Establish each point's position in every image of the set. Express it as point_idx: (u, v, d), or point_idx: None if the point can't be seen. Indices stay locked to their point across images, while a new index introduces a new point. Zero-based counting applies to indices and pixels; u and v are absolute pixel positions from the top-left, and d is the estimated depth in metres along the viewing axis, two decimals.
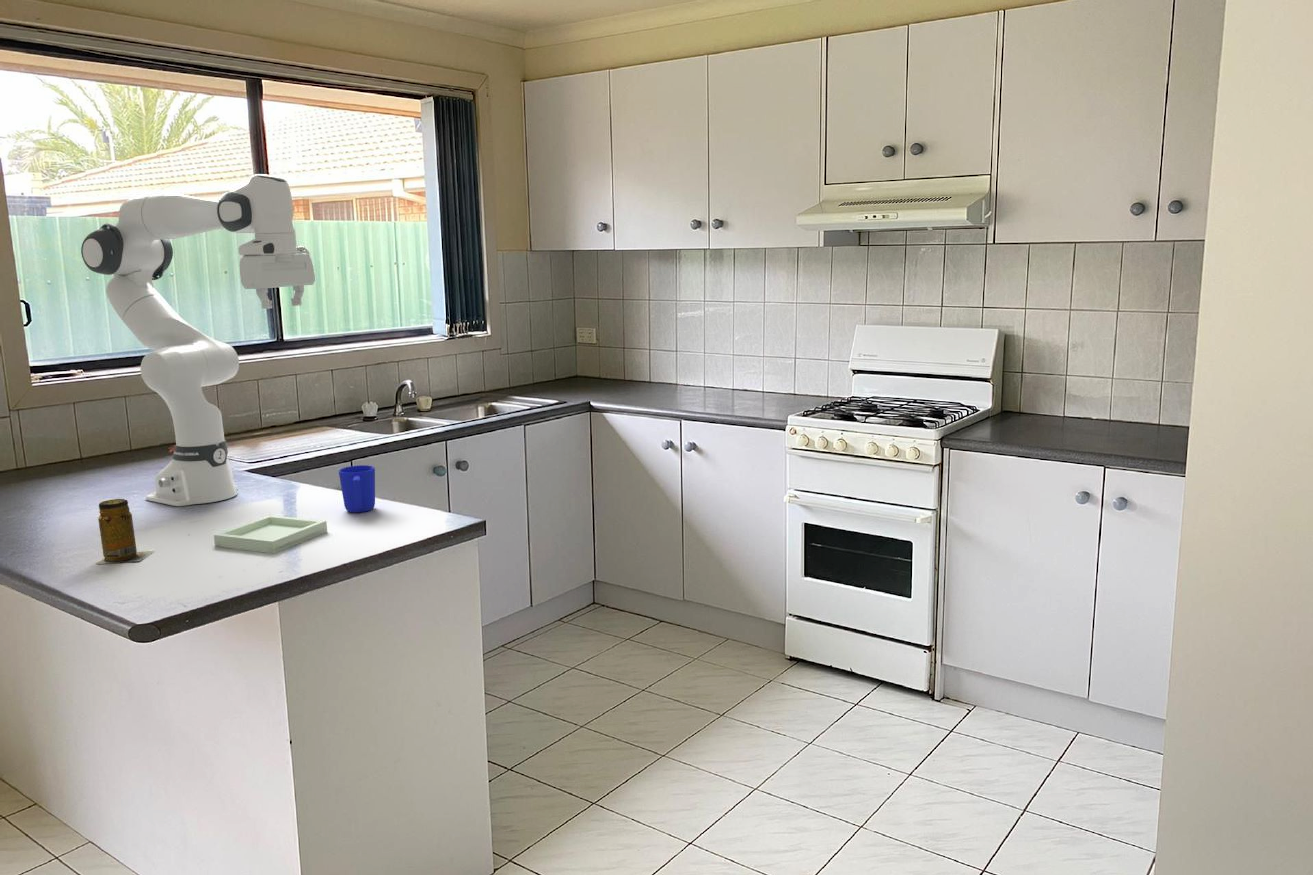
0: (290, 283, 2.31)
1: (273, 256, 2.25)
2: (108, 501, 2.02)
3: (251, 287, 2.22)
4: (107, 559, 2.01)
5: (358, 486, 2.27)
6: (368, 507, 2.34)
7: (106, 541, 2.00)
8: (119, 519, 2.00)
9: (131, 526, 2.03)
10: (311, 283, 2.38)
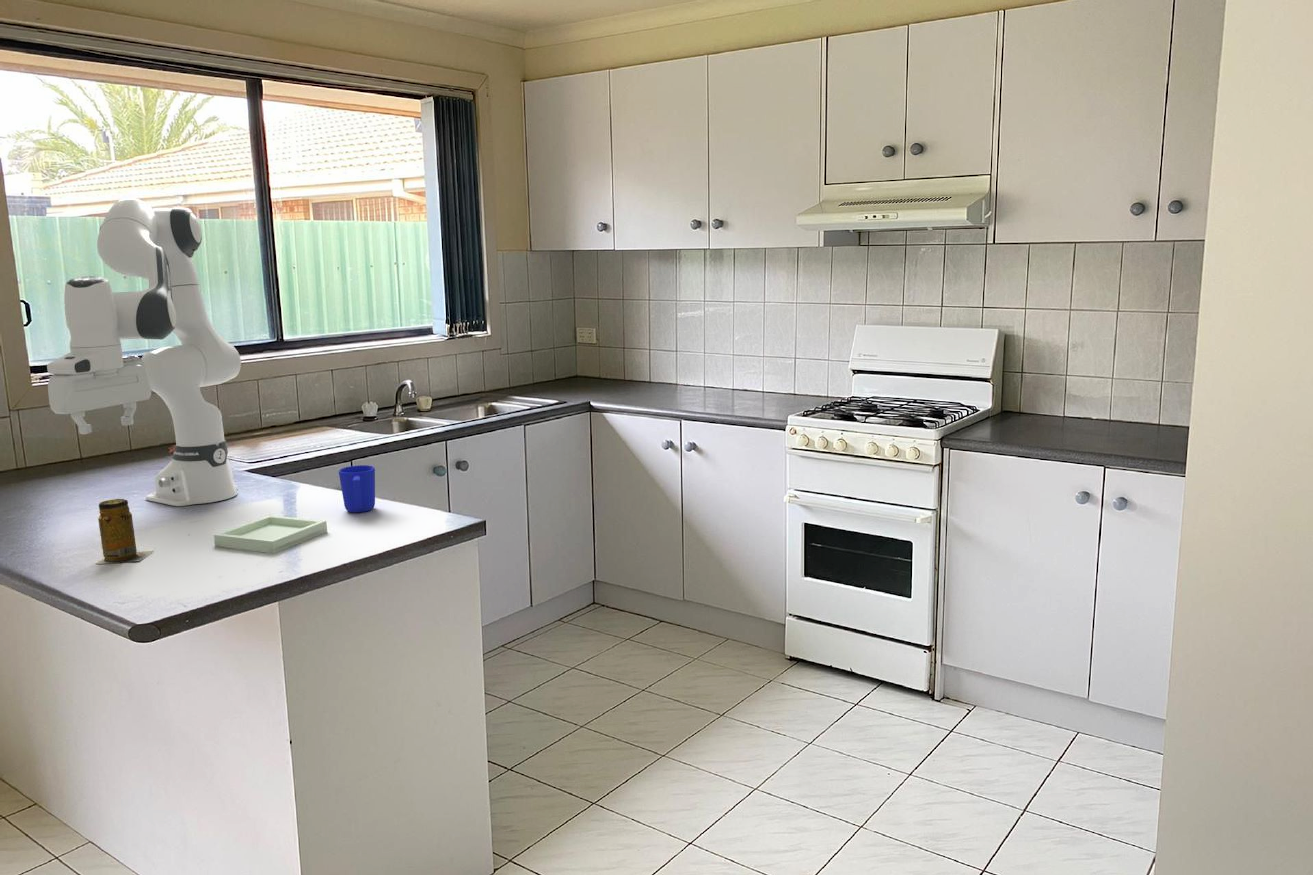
0: (116, 401, 1.98)
1: (90, 374, 1.92)
2: (108, 501, 2.02)
3: (61, 412, 1.89)
4: (107, 559, 2.01)
5: (358, 486, 2.27)
6: (368, 507, 2.34)
7: (106, 541, 2.00)
8: (119, 519, 2.00)
9: (131, 526, 2.03)
10: (146, 398, 2.05)
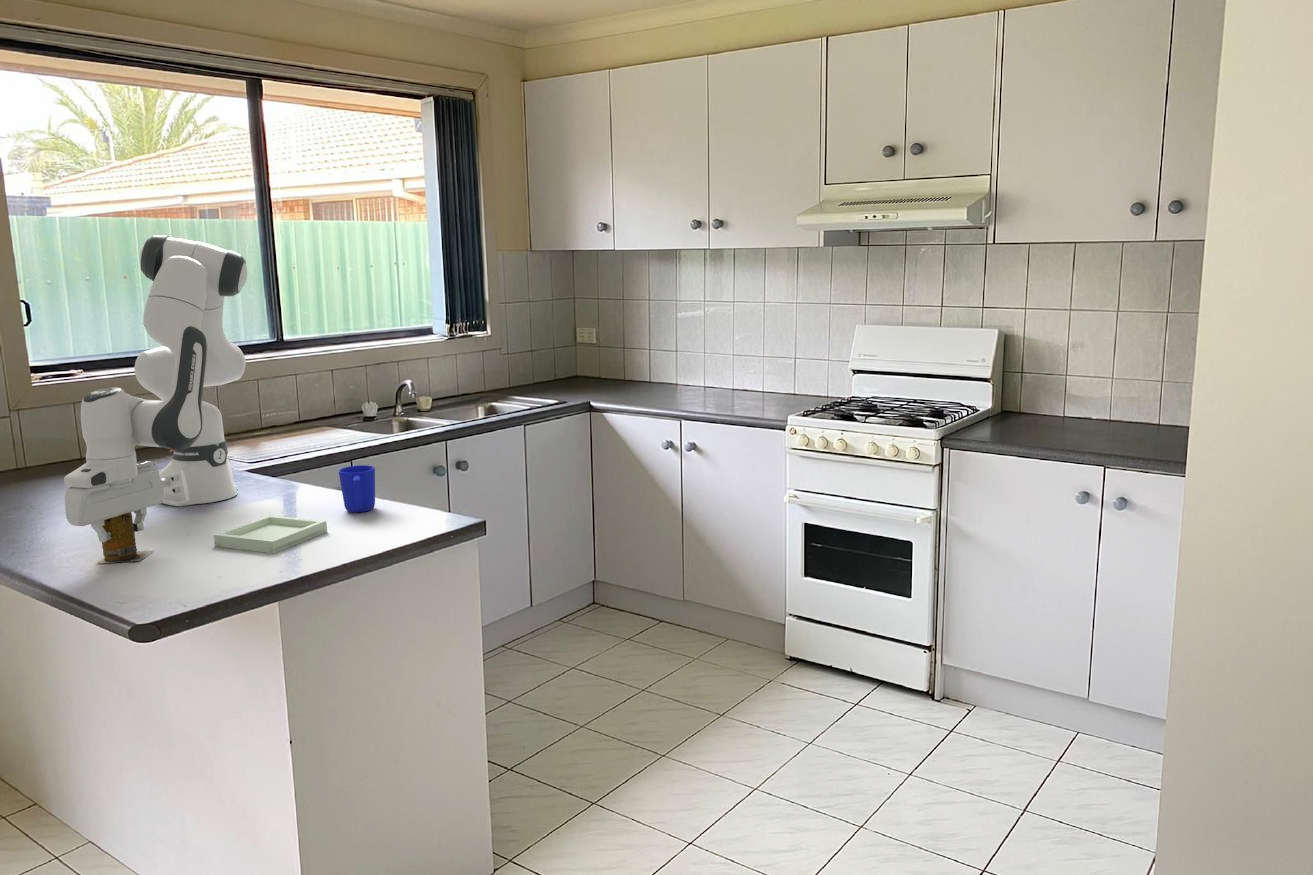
0: (130, 509, 2.02)
1: (105, 485, 1.96)
2: None
3: (78, 525, 1.93)
4: (107, 559, 2.01)
5: (358, 486, 2.27)
6: (368, 507, 2.34)
7: None
8: (119, 518, 2.00)
9: (132, 526, 2.03)
10: (159, 502, 2.09)
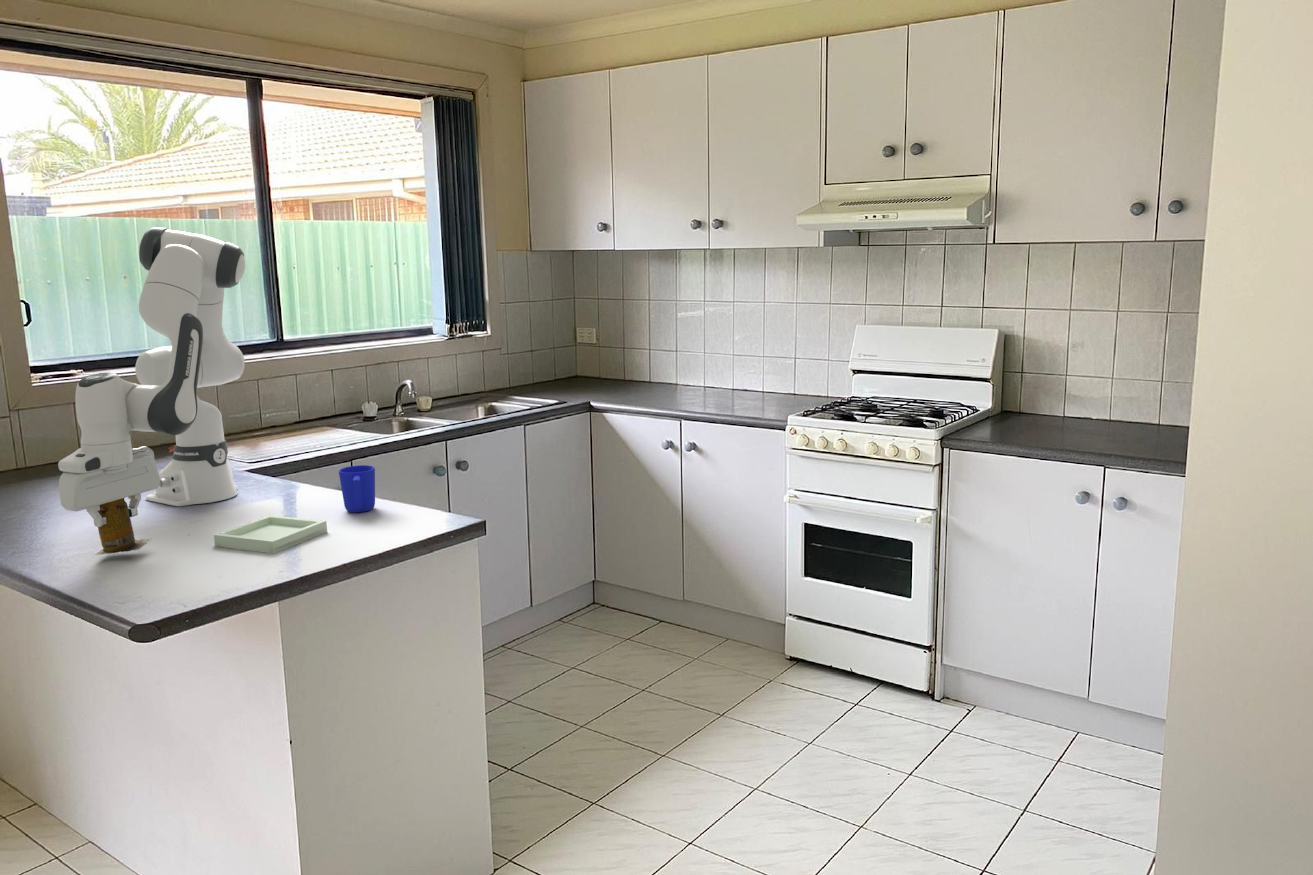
0: (125, 494, 2.02)
1: (100, 471, 1.95)
2: None
3: (72, 510, 1.93)
4: (106, 549, 2.02)
5: (358, 486, 2.27)
6: (368, 507, 2.34)
7: (103, 532, 2.01)
8: (114, 509, 2.00)
9: (128, 515, 2.03)
10: (155, 487, 2.09)
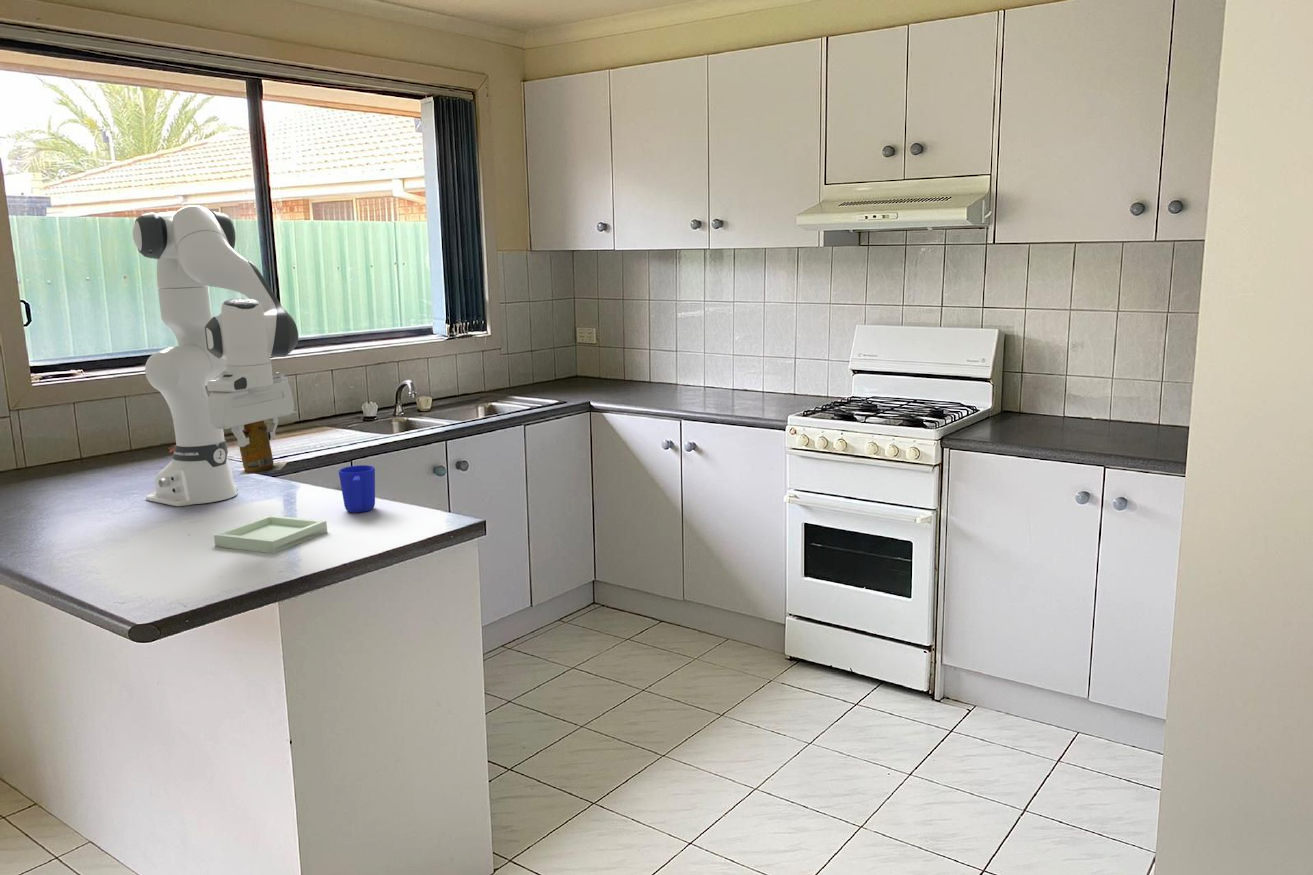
0: (266, 416, 2.09)
1: (246, 391, 2.03)
2: None
3: (221, 427, 2.00)
4: (248, 470, 2.09)
5: (358, 486, 2.27)
6: (368, 507, 2.34)
7: (246, 452, 2.08)
8: (257, 430, 2.07)
9: (268, 437, 2.10)
10: (290, 412, 2.16)
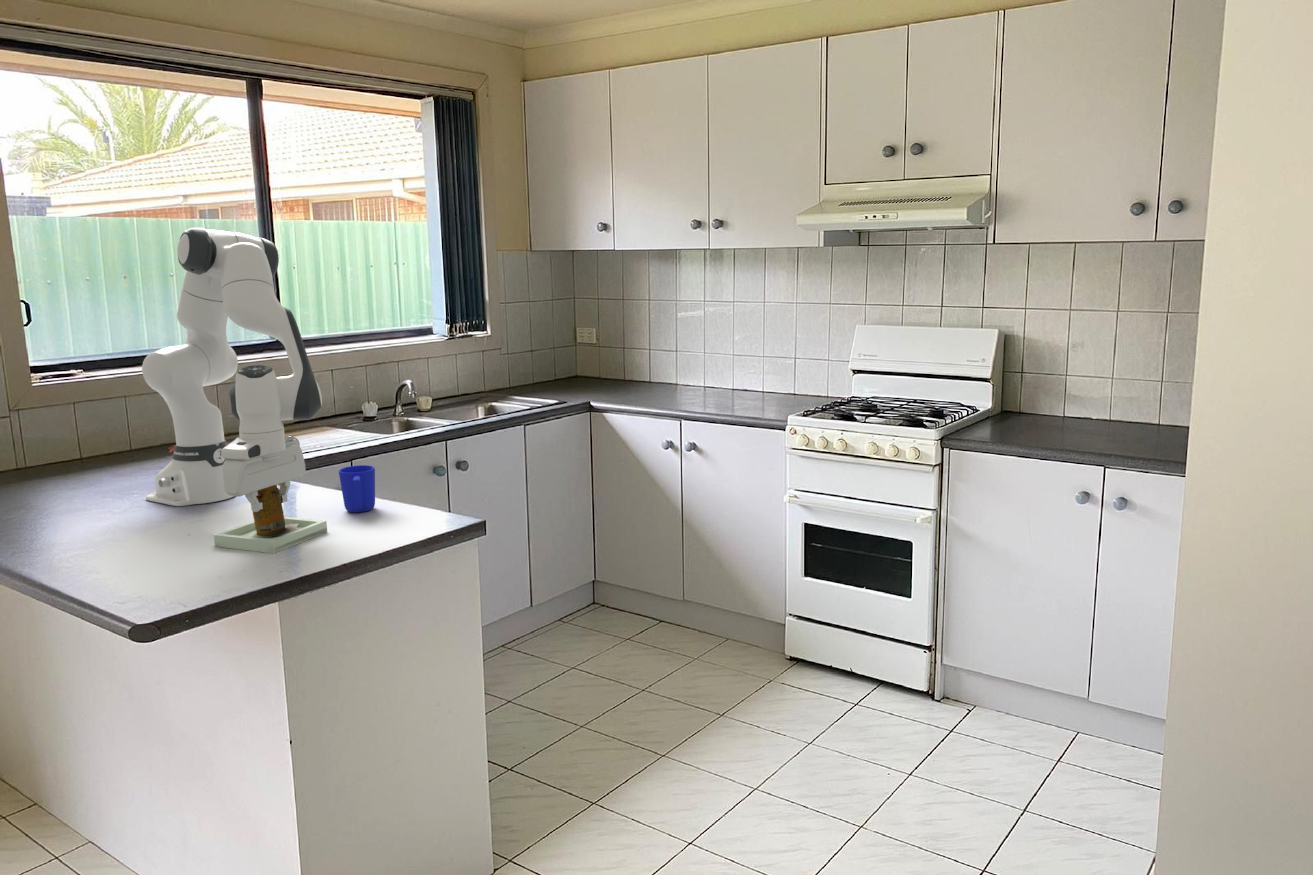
0: (278, 481, 2.13)
1: (259, 458, 2.06)
2: None
3: (235, 495, 2.03)
4: (260, 533, 2.12)
5: (358, 486, 2.27)
6: (368, 507, 2.34)
7: (259, 516, 2.11)
8: (270, 495, 2.11)
9: (280, 501, 2.14)
10: (301, 475, 2.19)
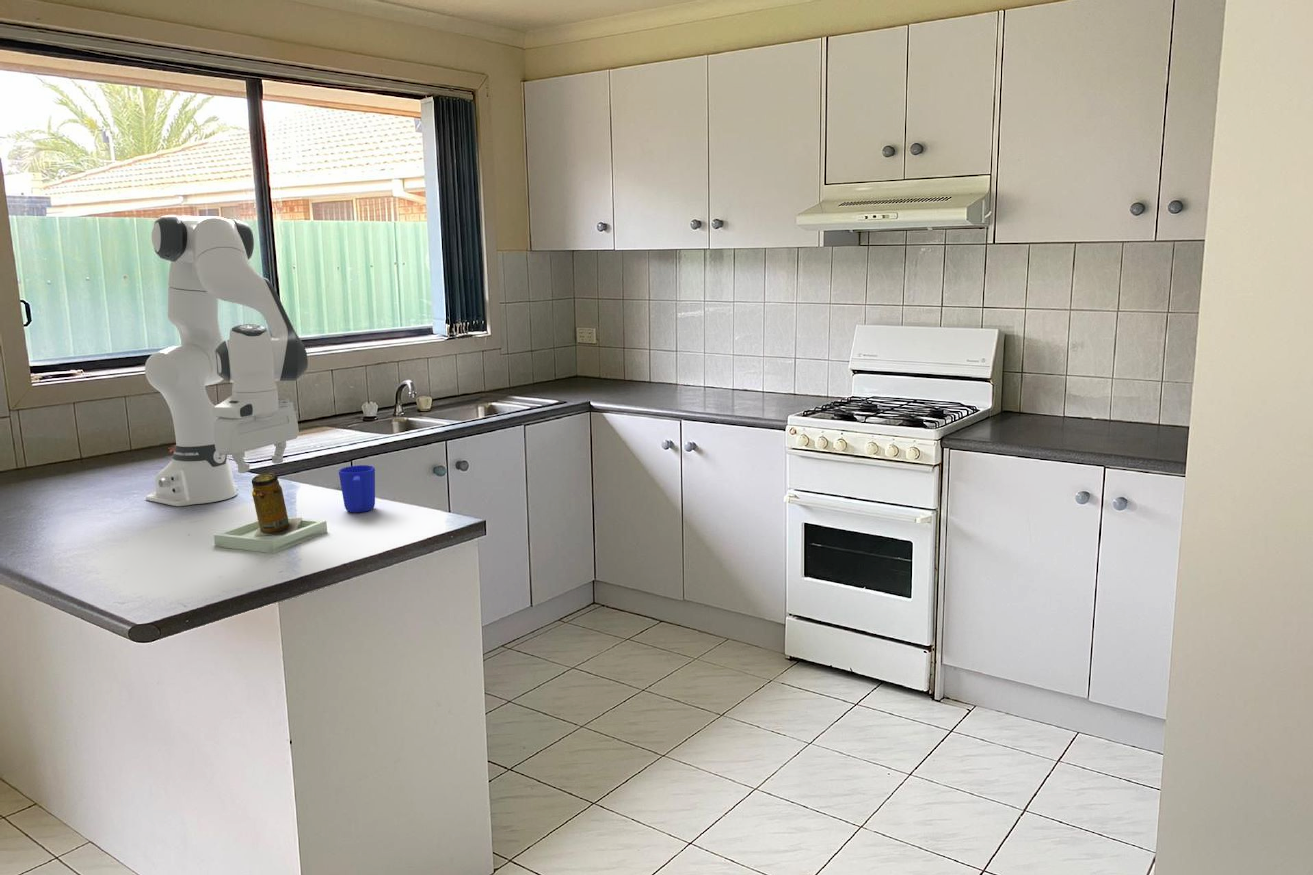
0: (270, 442, 2.11)
1: (251, 417, 2.04)
2: (259, 476, 2.13)
3: (226, 453, 2.01)
4: (264, 530, 2.14)
5: (358, 486, 2.27)
6: (368, 507, 2.34)
7: (261, 514, 2.12)
8: (272, 494, 2.11)
9: (283, 499, 2.14)
10: (294, 437, 2.17)
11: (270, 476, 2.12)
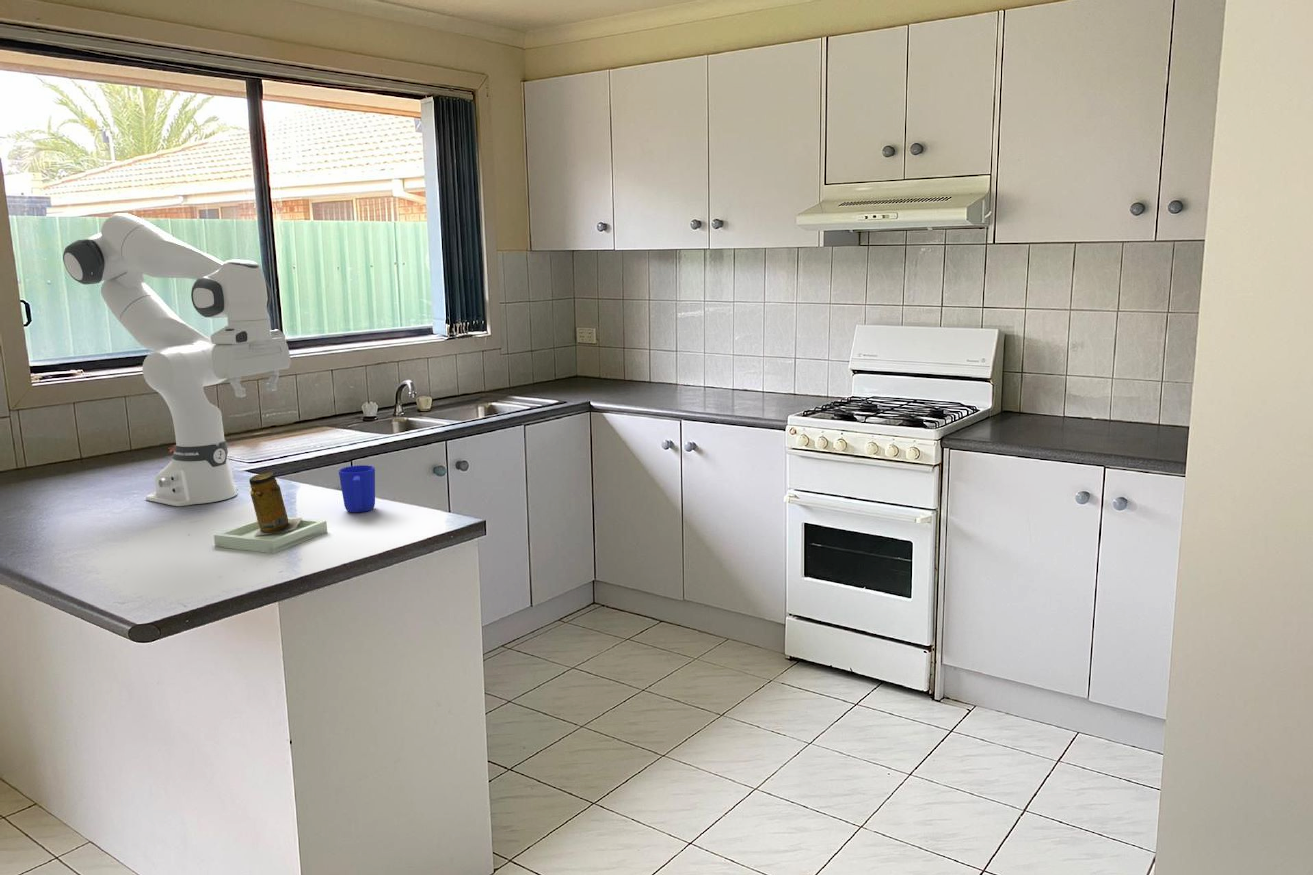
0: (264, 369, 2.26)
1: (246, 344, 2.20)
2: (257, 476, 2.13)
3: (223, 377, 2.17)
4: (264, 530, 2.14)
5: (358, 486, 2.27)
6: (368, 507, 2.34)
7: (260, 514, 2.12)
8: (270, 492, 2.12)
9: (281, 497, 2.15)
10: (287, 367, 2.33)
11: (267, 475, 2.13)
